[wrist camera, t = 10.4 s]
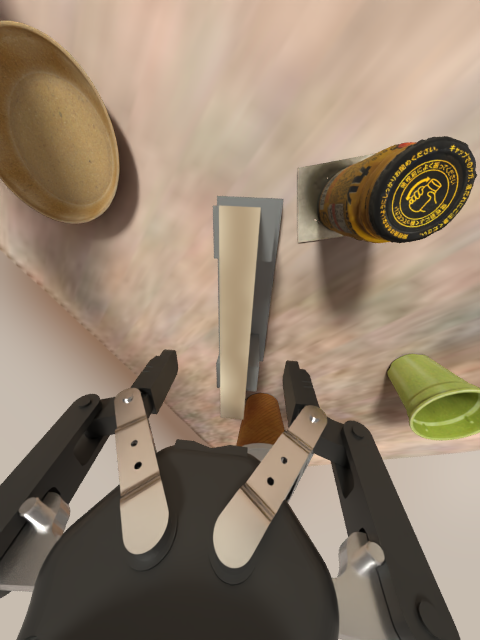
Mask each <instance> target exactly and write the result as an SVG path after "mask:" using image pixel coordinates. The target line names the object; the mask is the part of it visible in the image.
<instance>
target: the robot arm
mask: <svg viewBox="0 0 480 640" xmlns="http://www.w3.org/2000/svg"><path fill="white" fill-rule="evenodd" d="M177 372H178V362H177V355H176V351H175V350H164V351H163V352H162V353H161V355H160V356H155V357H154V358H153V359H151V360H150V361H149V363H148V364H147V365H146V367H145V368H144V370H143V371H142V372H141V374H140V375H139V376H138V378H137V379H136V381H135V382H134V383H133V385H132V386H131V388H128V389H125V390H123V391H121V392H120V393H119V394H118V395H117V396H116V397H113V398H107V399H101V400H100V398H99V396H98V395H96V394H88V395H85V396H82V397H81V398H79V399H77V400H76V401H75V402H74V403H73V404H72V405H71V406H70V407H69V408H68V409H67V411H66V412H65V413H64V414H63V415H62V416H61V417H60V419H59V420H58V421H57V422H56V423H55V424H54V425H53V426H52V428H51V429H50V430H49V431H48V432H47V433H46V434H45V435H44V437H43V438H42V439H41V440H40V441H39V442H38V444H37V445H36V446H35V447H34V448H33V449H32V450H31V451H30V453H29V454H28V455H27V456H26V457H25V458H24V459H23V460H22V462H21V463H20V464H19V465H18V466H17V467H16V468H15V469H14V471H13V472H12V473H11V474H10V475H9V476H8V477H7V479H6V480H5V481H4V482H3V483H2V484H1V485H0V598H2V597H3V596H5V595H7V594H8V593H9V592H11V591H29V592H33V594H32V597H31V602H30V605H29V608H28V611H27V614H26V617H25V620H24V622H23V625H22V628H21V630H20V633H19V635H18V637H17V640H338V639H342V640H460V637H459V634H458V631H457V629H456V626H455V624H454V621H453V619H452V617H451V614H450V612H449V610H448V608H447V605H446V603H445V601H444V599H443V596H442V594H441V592H440V589H439V587H438V585H437V583H436V581H435V578H434V576H433V574H432V571H431V569H430V567H429V565H428V562H427V560H426V558H425V555H424V553H423V551H422V549H421V546H420V544H419V542H418V540H417V537H416V535H415V533H414V530H413V528H412V526H411V523H410V521H409V519H408V517H407V514H406V512H405V510H404V508H403V505H402V503H401V501H400V498H399V496H398V494H397V492H396V489H395V487H394V485H393V483H392V480H391V478H390V476H389V473H388V471H387V469H386V467H385V464H384V462H383V460H382V457H381V455H380V453H379V451H378V448H377V446H376V444H375V442H374V439H373V437H372V435H371V433H370V431H369V430H368V429H367V428H366V427H365V426H364V425H362V424H361V423H358V422H356V421H347V422H345V424H342V423H339V422H337V421H334V420H332V419H330V418H328V417H327V416H326V414H325V413H324V412H323V411H322V410H321V409H320V407H319V404H318V401H317V398H316V395H315V391H314V388H313V385H312V383H311V378H310V375H309V374H308V373H307V372H306V370H304V369H300V368H299V365H298V362H297V361H286V365H285V369H284V374H283V390H284V397H285V405H286V412H287V419H288V427H289V429H288V430H287V431H284V432H283V433H282V434H281V435H280V437H279V438H278V440H277V441H276V442H275V444H274V445H273V446H272V448H271V449H270V450H269V452H268V453H267V455H266V456H265V457H264V459H263V460H262V461H260V460H258V459H257V458H256V457H254V456H253V455H251V454H249V453H247V452H248V447H242V446H233V445H228V446H222V447H216V448H209V447H207V446H204V445H202V444H199V443H197V442H195V441H187V440H179V439H178V440H176V443H175V445H174V446H170V447H167V448H165V449H162V450H161V451H159V452H157V451H156V447H155V443H154V439H153V436H152V431H151V428H150V424H149V420H148V418H149V416H150V414H157V413H158V411H159V409H160V407H161V405H162V403H163V401H164V399H165V397H166V395H167V393H168V391H169V389H170V387H171V385H172V383H173V381H174V379H175V377H176V375H177ZM112 434H115V438H116V449H117V459H118V471H119V481H120V485H118V486H117V487H116V488H115V489H114V490H112V491H111V492H110V493H109V494H108V495H106V496H105V497H104V498H103V499H102V500H101V501H99V502H98V503H97V504H96V505H95V506H94V507H92V508H91V509H90V510H89V511H88V512H87V513H85V514H84V515H83V516H82V517H81V518H80V519H78V520H77V521H76V522H75V523H74V524H73V525H71V526H70V527H69V528H68V529H67V530H66V532H64V530H65V527H66V524H67V521H68V519H69V516H70V507H69V505H68V504H69V503H70V501H71V499H72V498H73V496H74V494H75V492H76V491H77V489H78V488H79V485H80V484H81V483H82V481H83V479H84V477H85V476H86V474H87V472H88V471H89V469H90V467H91V466H92V464H93V462H94V461H95V459H96V457H97V456H98V454H99V452H100V451H101V449H102V447H103V445H104V444H105V442H106V441H107V439H108V437H109V436H110V435H112ZM314 453H315V454H317V455H319V456H321V457H323V458H326V459H328V460H330V461H331V464H332V469H333V473H334V477H335V482H336V486H337V490H338V495H339V499H340V503H341V508H342V512H343V516H344V520H345V525H346V529H347V534H348V538H347V539H346V540H345V541H344V542H343V543H342V545H341V546H340V549H339V574H338V576H337V578H331V575H330V573H329V570H328V568H327V566H326V564H325V562H324V561H323V559H322V557H321V555H320V554H319V552H318V551H317V549H316V547H315V546H314V544H313V542H312V541H311V539H310V538H309V536H308V534H307V533H306V531H305V530H304V528H303V526H302V525H301V523H300V522H299V520H298V518H297V517H296V515H295V514H294V512H293V510H292V509H291V507H290V506H289V504H288V502H289V500H290V499H291V497H292V494H293V493H294V491H295V489H296V487H297V485H298V482H299V481H300V479H301V477H302V475H303V473H304V471H305V469H306V467H307V466H308V464H309V462H310V460H311V458H312V456H313V454H314ZM63 532H64V533H63Z"/></svg>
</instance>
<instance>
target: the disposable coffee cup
mask: <svg viewBox="0 0 480 640" xmlns="http://www.w3.org/2000/svg"><path fill="white" fill-rule="evenodd" d="M284 431H285V430H284V425H283V421H282V417H281V413H280V409H279V405H278V401H277V400H276V399H275V398H274V397H273V396H271V395H269V394H264V393H258V394H254V395H252V396H250V397H249V398H248V399H247V401H246V405H245V409H244V418H243V420H242V422H241V427H240V431H239V436H238V440H237V445H236V446H242V447H248V452H247V453H249V454H251V455H253V456H254V457H256V458H257V459H258V460H260V461H262V460H263V459H264V457H265V456H266V455H267V453H268V452H269V450H270V449H271V448H272V446H273V445H274V444H275V442H276V441H277V440H278V438H279V437H280V435H281V434H282V433H283V432H284Z"/></svg>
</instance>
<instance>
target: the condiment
mask: <svg viewBox="0 0 480 640" xmlns="http://www.w3.org/2000/svg"><path fill="white" fill-rule="evenodd" d="M475 168H476V162H475V158H474V156H473V154H472V152H471V151H470V149H469V147H468V145H467V144H466V143H464V142H462V141H459V140H456V139H453V138H451V137H447V136H444V137H432V138H428V139H426V140H420V141H418V142H417V143H416V142H415V143H412V142H410V143H402V144H398V145H394V146H391V147H389V148H387V149H384V150H382V151H380V152H378V153H375V154H370V155H365V156H360V157H355V158H349V159H344V160H339V161H333V162H328V163H323V164H317V165H312V166H307V167H302V168H298V179H297V191H298V197H297V199H298V215H297V216H298V243H300V242H307V241H315V240H322V239H329V238H335V237H343V236H350V237H353V238H355V239H357V240H364V241H367V242H372V243H385V242H397V243H405V242H411V241H416V240H420V239H424V238H426V237H428V236H429V235H431V234H433V233H434V232H436V231H439V230H441V229H442V228H444V227H445V226H446V225H447V224H448V223H449V222H450V221H451V220H452V219H453V218H454V217H455V216H456V215H457V214H458V212H459V211H460V210H461V209H462V207H463V206H464V204H465V203H466V201H467V199H468V197H469V195H470V192H471V189H472V187H473V184H474V180H475V178H476V176H477V174H476V171H475ZM327 177H328V179H327ZM314 219H316V220H317V221H314ZM318 221H319V222H320V223H318Z"/></svg>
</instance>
